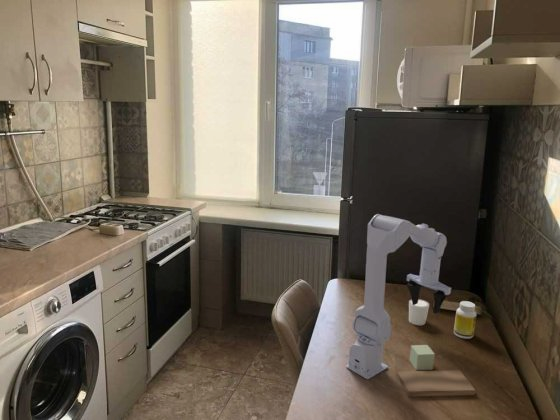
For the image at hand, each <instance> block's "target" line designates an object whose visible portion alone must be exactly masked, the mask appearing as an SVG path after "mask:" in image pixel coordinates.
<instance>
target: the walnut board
mask: <svg viewBox="0 0 560 420" xmlns="http://www.w3.org/2000/svg"><path fill="white" fill-rule="evenodd" d="M396 374H397V375H396V377H397V379H398V381H399V382H400V384H401V387H402V388H403V390H404V391H405V393H406V396H407V397H408V398H411V397H448V396H449V397H451V396H452V397H453V396H475V395H476V389H475V388H474V386H473V385H472V384H471V382H470V381H469V379H467V377H466V376H465V375H464V374H463V372H462V370H415V371H414V370H407V371H406V370H404V371H403V370H402V371H397V372H396Z"/></svg>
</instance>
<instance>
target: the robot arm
mask: <svg viewBox="0 0 560 420" xmlns="http://www.w3.org/2000/svg"><path fill="white" fill-rule="evenodd" d="M366 232H367V236H366V244H367V247H366V261H365V262H366V263H365V278H364V280H365V281H364V284H365V285H364V297H363V298H364V299H363V300H364V301H363V303H364V304H363V305H361V306H359V307H358V308H356V309H355V314H354V318H353V319H352V320H353V321H352V329H353V331H354V332H355V336H356V337H357V339H356V341H355V343H354V344H352V345H351V346H350V347H349V354H348V364H346V365H345V368H347V369H349V370H350V371H352V372H354V373H356V374H357V375H359V376H361V377H362V378H364V379H366V380H370V379H371V378H373V377H375V376H376V375H378V374H379V373H381V372H383V371H385V370H387V369H388V368H389V367H388V365H387V364H385V363H384V362H383V353H384V345H385V344H386V343H387V342H388V341H389V339H390V338H391V336H392V331H393V330H392V324H391V316H390V314H389V313H388V311H386V309H385V306H384V305H385V294H386V293H385V290H386V275H387V274H386V272H387V260H388V259H387V258H388V254H390V253H395V252H396V251H397V250H398V249H399V248H400V247H401V246H402V245H403V244H404V243H405V242H406V241H407V240H408V238H409V239H411V241H412V242H413V243H415V244H417V245H419V246H420V248H422V250H421V259H420V269H419V275H417V274H412V273H409V274H407V275H406V281H407V282H408V283H407V285H406V286H407V289H408V291H409V293H410V297H411V300H412V304H413V305H415V304H417V303H418V299H420V292H421V287H425V288H428V289H432V290H435V292H433V308H432V309H433V310H432V311H433V314H437V313H439V312H440V310H441V307H442V305H443V303H444V301H445V299H446V298H447V297H448V296H449V295H450V294H452V293H451V291H452V287H450V286H448V285H446V284H444V283H441V282H440V281H439V278H440V277H439V276H440V267H441V260H442V257H443V255H444V252H445V248H446V246H447V243H448V241H447V237H446V235H445V234H444V233H441V232H438V231H436V229H435V228H433V227H429V225H428V224H426V223H421V224H417V225H415V224H414V223H412V222H411V221H409V220H406V219H402V218H398V217H394V216H388V215H383V214H379V213H376V214H375V215H373V217H372V218H371V219H370V221H369V222H368V223H367V231H366Z"/></svg>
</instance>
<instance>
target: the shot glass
mask: <svg viewBox="0 0 560 420" xmlns="http://www.w3.org/2000/svg"><path fill="white" fill-rule="evenodd" d="M429 308H430V303H429V302H428V301H427V300H423V299H420V298H419V299H418V303H417V304H415V305H413V304H412V299H410V300H408V322H409V323H411V325H416V326H423V325H425V324H426V321H427V317H428V312H429Z"/></svg>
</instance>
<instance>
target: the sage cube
mask: <svg viewBox="0 0 560 420" xmlns="http://www.w3.org/2000/svg"><path fill="white" fill-rule="evenodd" d="M409 353H410V354H409V362H410V364H411V365H412V367H413V368H414V369H415V371H431V370H434V363H435V362H434V361H435V356H436V355H435V352H434V351H433V350H432V348H431V347H430V346H429V345H428V344H415V345H413V344H412V345H410V351H409Z"/></svg>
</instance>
